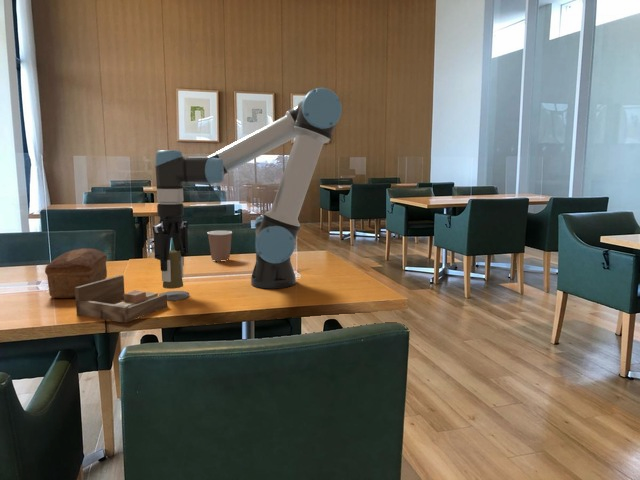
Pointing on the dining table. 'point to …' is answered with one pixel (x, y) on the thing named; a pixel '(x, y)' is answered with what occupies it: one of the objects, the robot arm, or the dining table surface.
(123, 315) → the tray
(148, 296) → the offcut
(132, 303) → the offcut
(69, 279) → the bread
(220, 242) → the coffee cup
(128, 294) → the offcut
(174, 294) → the coaster
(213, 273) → the dining table surface
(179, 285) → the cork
